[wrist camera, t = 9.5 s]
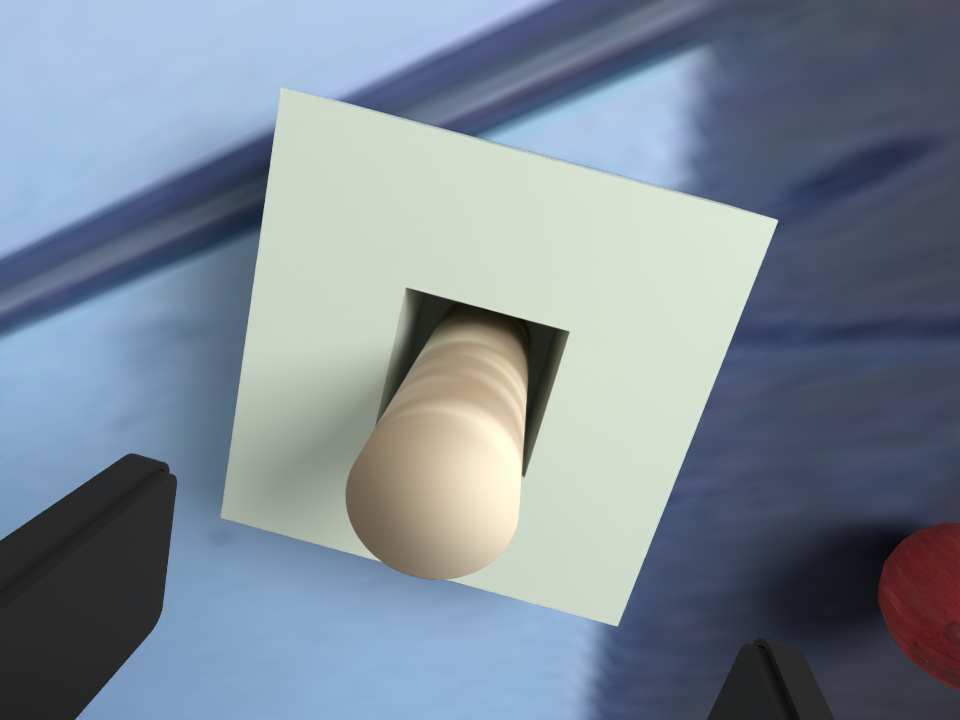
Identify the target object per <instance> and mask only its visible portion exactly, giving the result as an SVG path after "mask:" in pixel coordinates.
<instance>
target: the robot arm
mask: <svg viewBox="0 0 960 720" xmlns="http://www.w3.org/2000/svg"><path fill="white" fill-rule="evenodd" d="M176 487H177V479H176V476H175V475H173V474H169V467H168V465H167V464H166V463H165V462H161V461H158V460H154V459H151V458H147V457H144V456H141V455H137V454H128V455H126V456H124V457H123V458H121V459H120V460H118V461H117V462H115V463H114V464H112V465H111V466H109V467H108V468H106V469H105V470H103V471H102V472H101V473H99V474H98V475H96V476H95V477H93V478H92V479H90V480H89V481H87V482H86V483H84V484H83V485H81V486H80V487H78V488H77V489H76V490H74V491H73V492H71V493H70V494H68V495H67V496H65V497H64V498H62V499H61V500H59V501H58V502H56V503H55V504H53V505H52V506H51V507H49V508H48V509H46V510H45V511H43V512H42V513H40V514H39V515H37V516H36V517H34V518H33V519H31V520H30V521H29V522H27V523H26V524H24V525H23V526H21V527H20V528H18V529H17V530H15V531H14V532H12V533H11V534H9V535H8V536H6V537H5V538H4V539H2V540H1V541H0V720H75V719H76V718H77V717H78V716H79V714H80V713H81V712H82V711H83V710H84V709H85V707H86V706H87V705H88V704H89V703H90V702H91V701H92V699H93V698H94V697H95V696H96V695H97V694H98V693H99V691H100V690H101V689H102V688H103V687H104V686H105V684H106V683H107V682H108V681H109V680H110V679H111V678H112V676H113V675H114V674H115V673H116V672H117V671H118V670H119V668H120V667H121V666H122V665H123V664H124V663H125V661H126V660H127V659H128V658H129V657H130V656H131V655H132V653H133V652H134V651H135V650H136V649H137V648H138V647H139V645H140V644H141V643H142V642H143V641H144V640H145V638H146V637H147V636H148V635H149V634H150V633H151V631H152V630H153V629H154V627H155V625H156V624H157V622H158V620H159V618H160V615H161V612H162V607H163V600H164V591H165V582H166V574H167V565H168V556H169V548H170V539H171V530H172V522H173V513H174V504H175V496H176ZM707 720H834V717H833V715H832V713H831V711H830V709H829V707H828V705H827V703H826V701H825V699H824V697H823V695H822V692H821V690H820V688H819V686H818V684H817V682H816V680H815V678H814V676H813V674H812V672H811V670H810V668H809V665H808V663H807V661H806V659H805V657H804V655H803V654H802V652H801V651H800V650H799V649H797V648H795V647H791V646H788V645H784V644H781V643H778V642H774V641H771V640H767V639H764V638H759V639H758V640H756V641H755V642H754V644H753V645H750V644H745V645H744V646H742V648H741V650H740V651H739V653H738V655H737V658H736V660H735V662H734V664H733V666H732V668H731V670H730V672H729V674H728V677H727V679H726V681H725V683H724V685H723V687H722V689H721V691H720V693H719V695H718V698H717V700H716V702H715V704H714V706H713V708H712V710H711V712H710V714H709V716H708V719H707Z"/></svg>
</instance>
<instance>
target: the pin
mask: <svg viewBox="0 0 960 720" xmlns="http://www.w3.org/2000/svg"><path fill="white" fill-rule="evenodd" d="M529 357H530V333H529V329H528V326H527V324H526V322H525V320H524V319H522V318H518V317H514V316H511V315H507V314H503V313H500V312H496V311H492V310H488V309H485V308H481V307H477V306H474V305H470V304H466V303H462V302H459V301H458V302H457V303H455V304H454V305H452V306H451V307H450V308H449V309H448V310H447V311H446V312H445V313H444V315H443V317H442V318H441V320H440V321H439V323H438V325H437V326H436V328H435V330H434V331H433V333H432V335H431V336H430V338H429V340H428V341H427V343H426V344H425V346H424V348H423V349H422V351H421V353H420V354H419V356H418V358H417V359H416V361H415V363H414V364H413V366H412V368H411V369H410V371H409V373H408V374H407V376H406V378H405V379H404V381H403V383H402V384H401V386H400V388H399V389H398V391H397V392H396V394H395V396H394V397H393V399H392V401H391V402H390V404H389V406H388V407H387V409H386V411H385V412H384V414H383V416H382V417H381V419H380V421H379V422H378V424H377V426H376V427H375V429H374V431H373V432H372V434H371V436H370V437H369V439H368V440H367V442H366V444H365V445H364V447H363V449H362V450H361V452H360V454H359V455H358V457H357V459H356V460H355V462H354V464H353V466H352V468H351V470H350V473H349V476H348V480H347V484H346V492H345V495H346V508H347V513H348V516H349V520H350V523H351V525H352V527H353V529H354V531H355V533H356V535H357V536H358V538H359V539H360V541H361V542H362V543H363V544H364V546H365V547H366V548H367V549H368V550H369V551H370V552H371V553H372V554H373V555H374V556H375V557H376V558H378V559H379V560H380V561H382V562H383V563H385V564H386V565H388V566H390V567H391V568H393V569H395V570H397V571H400V572H402V573H405V574H408V575H410V576H414V577H419V578H423V579H433V580H446V579H454V578H459V577H463V576H467V575H469V574H472V573H475V572H477V571H479V570H481V569H483V568H485V567H486V566H488V565H489V564H490V563H492V562H493V561H494V560H495V559H496V558H498V557H499V556H500V555H501V554H502V552H503V551H504V550H505V549H506V547H507V546H508V544H509V543H510V541H511V539H512V537H513V535H514V532H515V530H516V527H517V523H518V518H519V505H520V490H521V475H522V461H523V446H524V431H525V416H526V401H527V386H528V372H529Z"/></svg>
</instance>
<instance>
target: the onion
mask: <svg viewBox="0 0 960 720" xmlns="http://www.w3.org/2000/svg"><path fill="white" fill-rule="evenodd" d="M878 602H879V605H880V608H881V611H882V614H883V617H884V620H885V623H886V626H887V628H888V630H889V632H890V634H891V636H892V638H893V640H894V642H895V643H896V645H897V646H898V647H899V648H900V649H901V650H902V651H903V652H904V653H905V654H906V655H907V657H908V658H909V659H910V660H912V661H913V662H914V663H915V664H917V665H918V666H919V667H920V668H922V669H923V670H924V671H925V672H926V673H928V674H929V675H930V676H932V677H933V678H935V679H936V680H938V681H939V682H941V683H943V684H944V685H946V686H948V687H951V688H954V689H957V690H960V524H958V523H944V524H940V525H936V526H932V527H928V528H924V529H921V530H919V531H917V532H915V533H914V534H912V535H910V536H909V537H907V538H905V539H904V540H902V541H901V542H900V544H899V545H898V546H897V547H896V549H895V550H894V551H893V552H892V553H891V555H890V556H889V557H888V558H887V560H886V561H885V562H884V566H883V570H882V573H881V577H880V581H879V584H878Z"/></svg>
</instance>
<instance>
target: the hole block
mask: <svg viewBox="0 0 960 720" xmlns="http://www.w3.org/2000/svg"><path fill="white" fill-rule="evenodd" d="M777 222H778V220H775V219H772V218H769V217H766V216H762V215H759V214H756V213H753V212H749V211H746V210H743V209H740V208H736V207H733V206H730V205H727V204H723V203H720V202H716V201H712V200H709V199H705V198H701V197H697V196H694V195H690V194H686V193H682V192H679V191H675V190H671V189H667V188H664V187H660V186H656V185H652V184H649V183H645V182H641V181H637V180H634V179H630V178H626V177H622V176H619V175H615V174H611V173H607V172H604V171H600V170H596V169H592V168H589V167H585V166H581V165H577V164H574V163H570V162H566V161H562V160H559V159H555V158H551V157H548V156H544V155H540V154H536V153H533V152H529V151H525V150H521V149H518V148H514V147H510V146H506V145H503V144H499V143H495V142H491V141H488V140H484V139H480V138H476V137H473V136H469V135H465V134H461V133H458V132H454V131H450V130H446V129H443V128H439V127H435V126H431V125H428V124H424V123H420V122H416V121H413V120H409V119H405V118H401V117H398V116H394V115H390V114H386V113H383V112H379V111H375V110H371V109H368V108H364V107H360V106H356V105H353V104H349V103H345V102H341V101H337V100H332V99H328V98H324V97H320V96H315V95H311V94H307V93H302V92H298V91H294V90H289V89H285V88H281V92H280V99H279V106H278V113H277V120H276V127H275V134H274V141H273V148H272V156H271V163H270V170H269V177H268V184H267V191H266V198H265V205H264V212H263V219H262V227H261V234H260V241H259V248H258V255H257V262H256V269H255V276H254V283H253V290H252V298H251V305H250V312H249V319H248V326H247V333H246V340H245V347H244V354H243V361H242V368H241V376H240V383H239V390H238V397H237V404H236V411H235V418H234V425H233V432H232V439H231V447H230V454H229V461H228V468H227V475H226V482H225V489H224V496H223V503H222V510H221V518H223V519H226V520H230V521H234V522H237V523H241V524H244V525H248V526H252V527H255V528H259V529H263V530H266V531H270V532H274V533H277V534H281V535H285V536H288V537H292V538H296V539H299V540H303V541H307V542H310V543H314V544H318V545H321V546H325V547H329V548H332V549H336V550H340V551H343V552H347V553H351V554H354V555H358V556H362V557H365V558H369V559H373V560H376V561H380V560H379V559H378V558H376V557H375V556H374V555H373V554H372V553H371V552H370V551H369V550H368V549H367V548H366V547H365V546H364V544H363V543H362V542H361V541H360V539H359V538H358V536H357V535H356V533H355V531H354V529H353V527H352V525H351V523H350V520H349V516H348V513H347V508H346V495H345V492H346V484H347V480H348V476H349V473H350V470H351V468H352V466H353V464H354V462H355V460H356V459H357V457H358V455H359V454H360V452H361V450H362V449H363V447H364V445H365V444H366V442H367V440H368V439H369V437H370V436H371V434H372V432H373V431H374V429H375V427H376V426H377V424H378V422H379V421H380V419H381V417H382V416H383V414H384V412H385V411H386V409H387V407H388V406H389V404H390V402H391V401H392V399H393V397H394V396H395V394H396V392H397V391H398V389H399V388H400V386H401V384H402V383H403V381H404V379H405V378H406V376H407V374H408V373H409V371H410V369H411V368H412V366H413V364H414V363H415V361H416V359H417V358H418V356H419V354H420V353H421V351H422V349H423V348H424V346H425V344H426V343H427V341H428V340H429V338H430V336H431V335H432V333H433V331H434V330H435V328H436V326H437V325H438V323H439V321H440V320H441V318H442V317H443V315H444V313H445V312H446V311H447V310H448V309H449V308H450V307H451V306H452V305H454V304H455V303H457V302H458V301H459V302H462V303H466V304H470V305H474V306H477V307H481V308H485V309H488V310H492V311H496V312H500V313H503V314H507V315H511V316H514V317H518V318H522V319H524V320H525V322H526V324H527V326H528V329H529V333H530V357H529V372H528V386H527V401H526V416H525V431H524V446H523V461H522V475H521V490H520V505H519V518H518V523H517V527H516V530H515V532H514V535H513V537H512V539H511V541H510V543H509V544H508V546H507V547H506V549H505V550H504V551H503V552H502V554H501V555H500V556H499V557H498V558H496V559H495V560H494V561H493V562H492V563H490V564H489V565H488V566H486V567H485V568H483V569H481V570H479V571H477V572H475V573H472V574H469V575H467V576H463V577H459V578H454V579H446V580H450V581H453V582H457V583H460V584H464V585H468V586H471V587H475V588H479V589H482V590H486V591H490V592H493V593H497V594H501V595H504V596H508V597H512V598H515V599H519V600H523V601H526V602H530V603H534V604H537V605H541V606H545V607H548V608H552V609H556V610H559V611H563V612H567V613H570V614H574V615H578V616H581V617H585V618H589V619H592V620H596V621H600V622H603V623H607V624H611V625H614V626H618V624H619V621H620V619H621V616H622V614H623V611H624V609H625V606H626V604H627V601H628V599H629V596H630V594H631V591H632V589H633V586H634V584H635V581H636V579H637V576H638V573H639V571H640V568H641V566H642V563H643V561H644V558H645V556H646V553H647V551H648V548H649V546H650V543H651V541H652V538H653V536H654V533H655V531H656V528H657V526H658V523H659V520H660V518H661V515H662V513H663V510H664V508H665V505H666V503H667V500H668V498H669V495H670V493H671V490H672V488H673V485H674V483H675V480H676V478H677V475H678V472H679V470H680V467H681V465H682V462H683V460H684V457H685V455H686V452H687V450H688V447H689V445H690V442H691V440H692V437H693V435H694V432H695V430H696V427H697V424H698V422H699V419H700V417H701V414H702V412H703V409H704V407H705V404H706V402H707V399H708V397H709V394H710V392H711V389H712V387H713V384H714V382H715V379H716V377H717V374H718V371H719V369H720V366H721V364H722V361H723V359H724V356H725V354H726V351H727V349H728V346H729V344H730V341H731V339H732V336H733V334H734V331H735V329H736V326H737V323H738V321H739V318H740V316H741V313H742V311H743V308H744V306H745V303H746V301H747V298H748V296H749V293H750V291H751V288H752V286H753V283H754V281H755V278H756V276H757V273H758V270H759V268H760V265H761V263H762V260H763V258H764V255H765V253H766V250H767V248H768V245H769V243H770V240H771V238H772V235H773V233H774V230H775V228H776V225H777ZM380 562H382V561H380Z"/></svg>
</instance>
